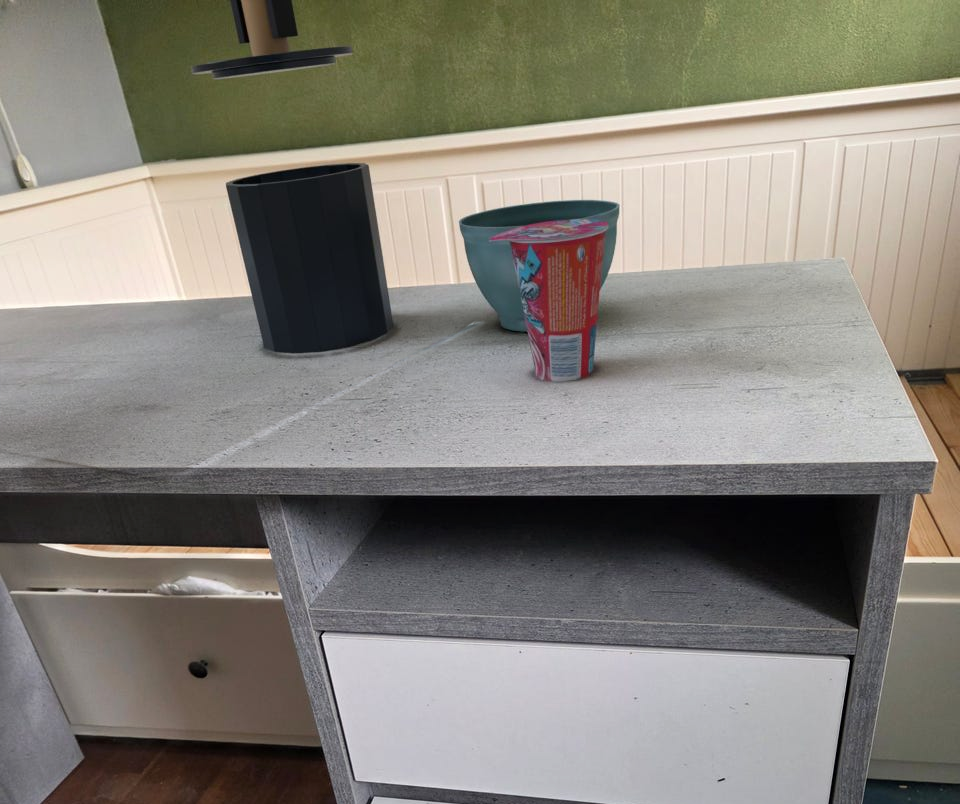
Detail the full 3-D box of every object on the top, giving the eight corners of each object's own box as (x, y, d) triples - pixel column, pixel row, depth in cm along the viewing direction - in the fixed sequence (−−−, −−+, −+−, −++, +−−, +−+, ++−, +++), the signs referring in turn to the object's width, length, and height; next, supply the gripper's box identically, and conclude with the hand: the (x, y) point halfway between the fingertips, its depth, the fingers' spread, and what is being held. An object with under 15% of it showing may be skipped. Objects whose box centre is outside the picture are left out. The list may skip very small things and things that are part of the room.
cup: (568, 353, 83) (561, 215, 77) (631, 369, 77) (630, 220, 71) (490, 379, 79) (476, 235, 73) (550, 397, 73) (541, 243, 67)
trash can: (237, 354, 97) (195, 187, 88) (321, 319, 106) (291, 166, 97) (338, 362, 90) (303, 182, 81) (418, 324, 99) (395, 159, 90)
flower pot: (497, 305, 103) (488, 203, 97) (634, 301, 98) (633, 193, 92) (448, 344, 91) (434, 231, 85) (602, 342, 85) (599, 221, 79)
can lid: (159, 86, 83) (124, -51, 77) (271, 73, 93) (246, -48, 87) (280, 68, 75) (250, -84, 70) (386, 57, 86) (367, -76, 80)
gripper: (307, -338, 68) (362, 26, 81) (164, -275, 76) (234, 47, 89) (240, -363, 63) (309, 30, 76) (93, -293, 71) (178, 52, 84)
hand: (268, 39), depth 83 cm, fingers closed on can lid, 4 cm apart
